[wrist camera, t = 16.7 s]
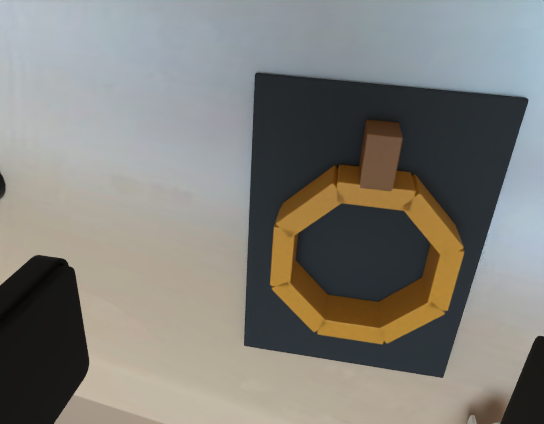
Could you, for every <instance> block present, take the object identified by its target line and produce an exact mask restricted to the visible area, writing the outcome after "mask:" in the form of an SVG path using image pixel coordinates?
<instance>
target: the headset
mask: <svg viewBox="0 0 544 424" xmlns="http://www.w3.org/2000/svg"><path fill="white" fill-rule="evenodd" d="M500 423H501V422H496V423H493V424H500ZM467 424H477V423H476V419H475V415H471V416H470V417H469V419H468V422H467Z"/></svg>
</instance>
